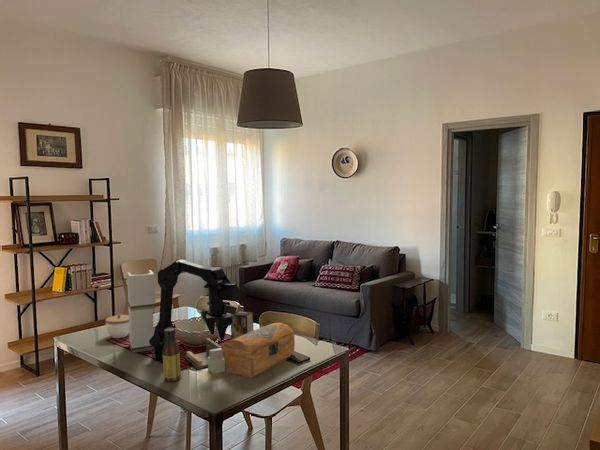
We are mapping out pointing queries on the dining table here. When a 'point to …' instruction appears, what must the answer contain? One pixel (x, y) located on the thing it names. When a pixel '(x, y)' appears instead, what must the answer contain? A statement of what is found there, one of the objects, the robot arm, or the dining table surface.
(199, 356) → the cleat board
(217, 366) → the cabinet block
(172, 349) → the sauce bottle
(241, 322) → the coffee box
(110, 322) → the lidded bowl
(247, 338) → the wooden box
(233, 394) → the dining table surface
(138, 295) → the stacked white boxes
